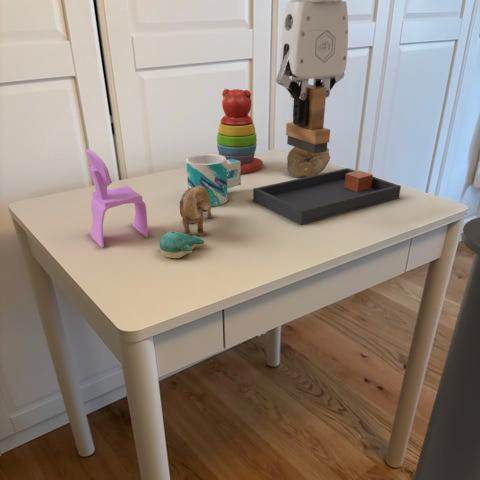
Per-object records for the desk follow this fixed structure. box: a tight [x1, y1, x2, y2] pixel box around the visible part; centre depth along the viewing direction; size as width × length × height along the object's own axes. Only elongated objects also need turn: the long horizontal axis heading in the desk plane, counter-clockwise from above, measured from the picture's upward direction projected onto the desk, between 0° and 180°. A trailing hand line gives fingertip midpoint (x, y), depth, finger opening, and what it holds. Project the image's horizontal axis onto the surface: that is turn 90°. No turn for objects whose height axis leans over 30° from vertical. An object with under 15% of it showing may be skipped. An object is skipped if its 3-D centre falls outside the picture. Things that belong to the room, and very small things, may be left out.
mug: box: [185, 153, 242, 208], centre depth 101 cm, size 8×12×8 cm
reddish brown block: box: [344, 170, 374, 192], centre depth 104 cm, size 4×4×3 cm
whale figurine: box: [159, 230, 205, 259], centre depth 80 cm, size 6×7×4 cm
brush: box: [285, 83, 331, 154], centre depth 81 cm, size 8×3×10 cm, turn 31°
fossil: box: [286, 146, 331, 178], centre depth 115 cm, size 9×4×10 cm
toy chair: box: [85, 148, 149, 249], centre depth 82 cm, size 8×9×15 cm
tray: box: [252, 167, 402, 226], centre depth 100 cm, size 26×16×3 cm, turn 123°
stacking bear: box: [216, 88, 264, 175], centre depth 115 cm, size 11×10×18 cm
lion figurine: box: [179, 185, 213, 237], centre depth 87 cm, size 15×5×9 cm, turn 3°
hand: (308, 123), depth 81 cm, fingers closed on brush, 2 cm apart
